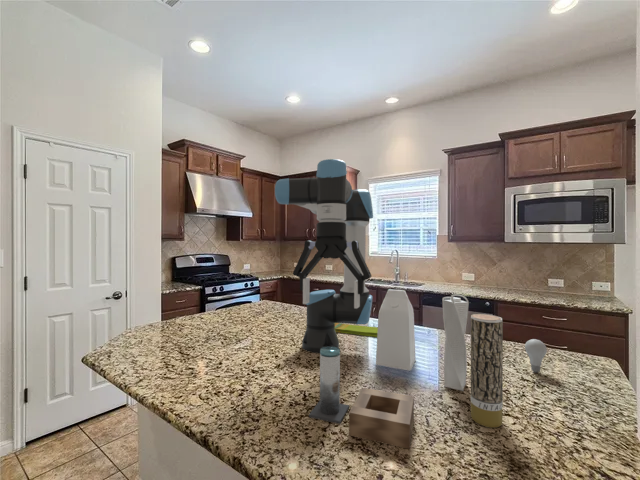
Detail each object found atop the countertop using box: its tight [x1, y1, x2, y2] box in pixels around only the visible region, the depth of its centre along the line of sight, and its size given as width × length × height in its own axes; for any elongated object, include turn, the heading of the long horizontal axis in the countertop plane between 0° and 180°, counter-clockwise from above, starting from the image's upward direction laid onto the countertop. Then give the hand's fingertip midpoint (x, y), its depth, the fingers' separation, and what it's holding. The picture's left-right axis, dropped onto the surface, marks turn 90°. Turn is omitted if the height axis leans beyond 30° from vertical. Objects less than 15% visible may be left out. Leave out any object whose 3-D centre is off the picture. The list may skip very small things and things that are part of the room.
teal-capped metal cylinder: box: [319, 347, 341, 415], centre depth 79 cm, size 5×5×15 cm
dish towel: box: [335, 323, 378, 339], centre depth 155 cm, size 15×36×3 cm, turn 67°
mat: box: [308, 400, 350, 425], centre depth 79 cm, size 8×8×1 cm
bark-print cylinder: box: [470, 313, 504, 429], centre depth 76 cm, size 7×7×25 cm
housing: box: [348, 387, 415, 450], centre depth 73 cm, size 13×13×5 cm
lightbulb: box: [524, 338, 548, 373], centre depth 105 cm, size 6×6×11 cm
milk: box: [375, 289, 417, 372], centre depth 113 cm, size 12×12×26 cm
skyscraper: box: [442, 293, 470, 392], centre depth 95 cm, size 8×8×28 cm
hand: (330, 305), depth 80 cm, fingers open, 13 cm apart
